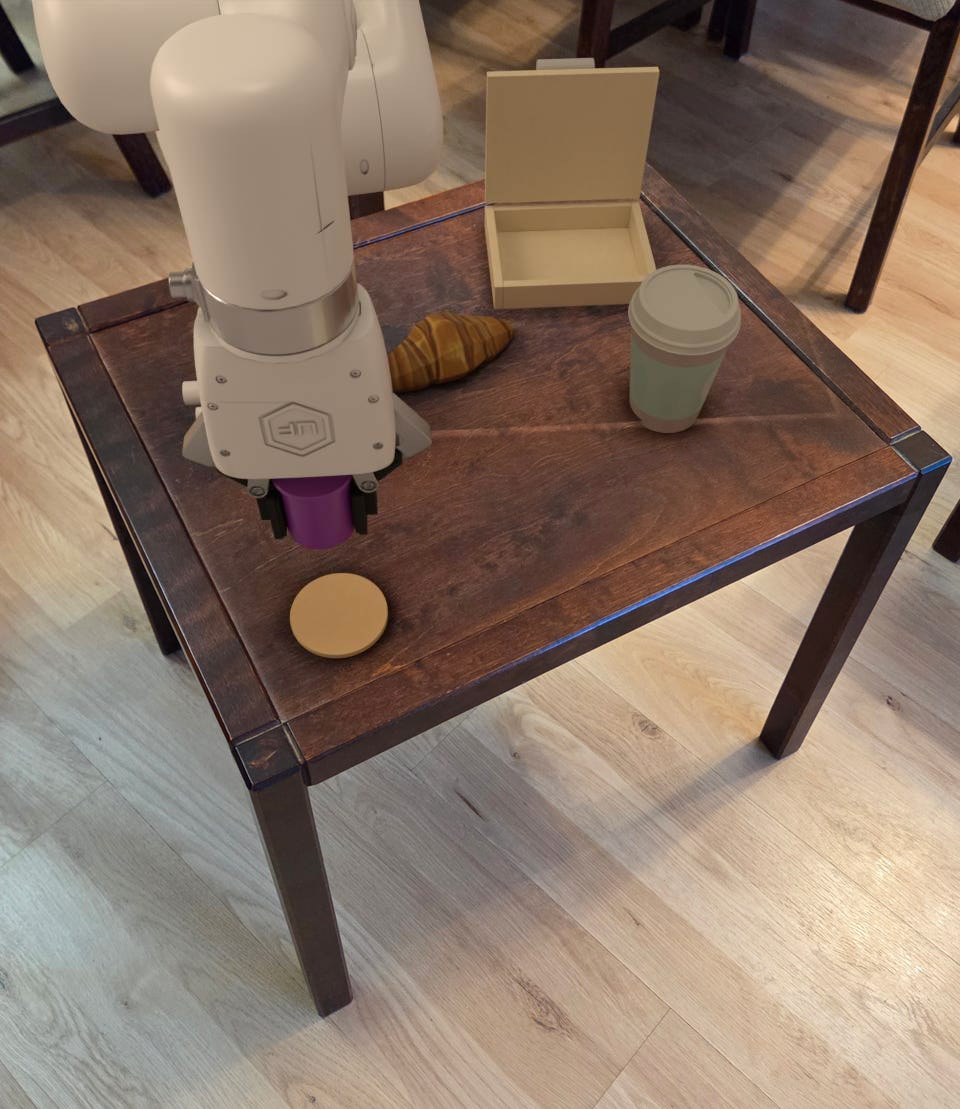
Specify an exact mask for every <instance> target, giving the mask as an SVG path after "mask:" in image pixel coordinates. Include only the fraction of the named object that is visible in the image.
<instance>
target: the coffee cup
mask: <svg viewBox="0 0 960 1109" xmlns="http://www.w3.org/2000/svg"><path fill="white" fill-rule="evenodd" d="M627 316H628V320H629V323H630V326H631V327H630V330H631V331H630V356H629V357H630V360H629V361H630V362H629V365H630V366H629V406H630V408H631V410H632V412H633V413H634V414H635V415H636V417H637V418H638V419H640V420H636V422H637V423H638V424H639V425H641V426H642V427H644V428H645V429H648V430H650V431H653V432H656V433H662V434H673V433H674V434H675V433H679V432H682V431H685V430H687V429H688V428H690V427H692V425H694V424H695V422H696V421H697V418H698V416H699V414H700V413H701V410H702V408H703V406H704V404H705V401H706V399H707V397H708V394H709V392H710V390H711V388H712V386H713V383H714V381H715V378H716V376H717V373H718V371H719V369H720V367H721V364H722V362H723V360H724V358H725V355H726V353H727V350H728V348H729V346H730V344H731V343H732V342H733V341H734V340H735V339H736V338H737V336H738V334H739V332H740V330H741V326H742V325H741V323H742V312H741V307H740V304H739V296H738V293H737V290H736V289H735V287H734V286H733V285H732V284H731V282H729V280H727V278H725V277H724V276H722V275H721V274H720V273H718V272H716V271H714V270H712V269H709V268H707V267H703V266H699V265H693V264H672V265H671V264H670V265H667V266H663V267H659V268H658V269H657V268H656V270H655V271H654V272H652V273H650V274H649V275H648V276H647V277H646V278H645V279H644V280H643V281H642V283H641V285H640V287H639V288H638V289H637V290H636V291H635V293H634V295H633V297H632V300H631V302H630V304H628V309H627Z"/></svg>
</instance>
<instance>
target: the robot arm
mask: <svg viewBox="0 0 960 1109" xmlns="http://www.w3.org/2000/svg"><path fill="white" fill-rule="evenodd" d="M31 5H32V12H33V18H34V25H35V31H36V36H37V40H38V44H39V48H40V52H41V57H42V61H43V64H44V68H45V71H46V73H47V76H48V79H49V81H50V84H51V86H52V89H53V91H54V92H55V93H56V95H57V97H58V99H59V101H60V103H61V104H62V105H63V106H64V108H65V109H66V110H67V112H69V114H70V115H71V116H72V118H74V119H76V120H77V121H78V122H79V123H81V124H82V125H84V126H86V127H88V128H89V129H91V130H94V131H96V132H99V133H102V134H103V133H104V134H108V135H134V134H143V133H144V134H146V133H155V135H156V138H157V143H158V145H159V147H160V151H161V153H162V156H163V158H164V160H165V163H166V166H167V167H168V170H169V172H170V177H171V180H172V184H173V189H174V192H175V195H176V196H175V197H176V199H177V200H176V201H177V203H178V204H177V205H178V207H179V211H180V215H181V220H182V224H183V227H184V231H185V235H186V238H187V243H188V247H189V250H190V254H191V258H192V264H191V267H186V268H184V269H183V270H184V271H183V270H182V271H170V272H169V274H168V289H169V293H170V296H171V299H172V300H187V302H189V303H194V302H195V304H196V305H197V313H196V317H195V320H194V323H193V358H194V367H195V375H196V380H184V381H183V382H182V386H181V391H182V393H181V394H182V400H183V403H184V405H185V406H196V407H195V410H194V411H195V413H194V414H195V420H194V421H193V423H192V425H191V426H190V427H189V429H188V430H187V431H186V433H185V434H184V436H183V441H182V449H181V455H182V457H183V458H185V459H186V460H189V461H191V462H194V463H198V464H200V465H203V466H204V467H208V468H212V467H213V468H216V470H217V472H218V473H219V474H220V475H222V476H224V477H226V478H228V479H230V480H232V481H234V482H236V483H238V484H240V485H241V486H244V487H246V493H247V495H248V496H249V497H251V498H253V499H256V503H257V508H258V511H259V515H260V519H261V521H270V525H271V529H272V533H273V538H274V540H284V539H285V537H287V536H288V528H287V523H286V519H285V514H284V510H283V505H282V501H281V497H280V492H279V490H278V489H277V488H276V487H275V486H274V484H273V482H272V480H271V479H273V478H298V477H318V476H335V475H351V474H352V476H353V478H352V480H351V502H352V509H353V516H354V523H355V534H358V535H359V536H363V535H365V536H366V535H368V529H369V528H368V516H375V515H379V512H378V510H379V509H378V508H379V506H378V491H377V490H378V489H379V484H380V483H379V482H381V480H382V479H384V478H385V477H387V476H388V475H389V474H391V473H392V472H394V471H395V470H396V469H397V468H399V467H400V466H401V465H402V464H403V460H405V459H407V458H408V459H410V458H412V457H414V456H415V455H418V454H419V453H421V452H423V451H425V450H426V449H429V448H430V447H431V446H432V445H433V444H432V443H433V441H432V426H431V424H430V423H429V422H427V421H426V420H425V419H424V418H423V417H422V416H421V415H420V414H419V413H417V412H416V411H415V410H414V409H413V408H411V407H410V406H409V405H408V404H407V403H406V402H405V401H404V400H402V398H400V397H399V396H398V395H397V394H396V393H393V389H392V381H391V375H390V369H389V363H388V353H387V349H386V344H385V339H384V335H383V332H382V328H381V325H380V321H379V318H378V315H377V312H376V309H375V306H374V304H373V301H372V299H371V296H370V294H369V293H368V291H367V290H366V288H365V287H364V286H363V285H362V284H361V283H358V279H357V278H358V277H357V269H356V258H355V251H354V243H353V233H352V224H351V216H350V215H351V213H350V204H349V196H358V195H365V194H374V193H379V192H380V193H381V192H388V191H389V192H390V191H394V190H400V189H405V188H410V187H412V186H416V185H419V184H420V183H423V182H424V181H425V180H427V179H428V178H429V177H430V176H432V175H433V174H434V172H435V171H436V170H437V168H438V166H439V163H440V162H441V161H440V160H441V158H442V154H443V151H444V150H443V149H444V117H443V110H442V104H441V98H440V92H439V87H438V82H437V77H436V72H435V67H434V62H433V59H432V54H431V49H430V45H429V41H428V36H427V32H426V28H425V22H424V18H423V13H422V8H421V4H420V0H31ZM197 405H199V406H197Z"/></svg>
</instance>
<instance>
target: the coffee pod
mask: <svg viewBox="0 0 960 1109" xmlns="http://www.w3.org/2000/svg"><path fill="white" fill-rule="evenodd" d="M352 478H353V476H352V474H351V475H335V476H318V477H298V478H273V479H271V480H272V482H273V484H274V486H275V487H276V488H277V489H278V490H279V492H280V497H281V501H282V505H283V510H284V514H285V519H286V523H287V532H288V534H289V535H290V537H291V539H292V540H293V541H294V542H295V543H296V544H298V545H300V546H301V547H304V548H306V549H310V550H319V551H320V550H321V551H323V550H329V549H332V548H336V547H338V546H341V545H342V544H344V543H345V542H346V541H348V540H349V539H350V538H351V536H352V535H353V534H354V532H356V530H355V523H354V516H353V509H352V502H351V480H352Z"/></svg>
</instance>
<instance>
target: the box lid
mask: <svg viewBox="0 0 960 1109" xmlns="http://www.w3.org/2000/svg"><path fill="white" fill-rule="evenodd" d="M535 63H536V64H535V69H531V70H530V69H527V70H496V71H494V70H493V71H492V70H491V71H486V95H485V96H486V97H485V99H486V100H485V102H486V103H485V104H486V105H485V149H484V150H485V152H484V153H485V158H484V159H485V160H484V203H485V204H486V205H487V204H510V203H511V204H513V203H515V204H517V203H541V202H542V203H544V202H546V203H547V202H572V201H573V202H574V201H575V202H576V201H599V200H600V201H602V200H603V201H604V200H631V199H632V200H633V199H640V198H641V192H642V187H643V186H642V185H643V181H644V173H645V166H646V160H647V156H648V155H647V154H648V148H649V142H650V135H651V130H652V129H651V128H652V122H653V116H654V115H653V114H654V110H655V103H656V98H657V92H658V91H657V90H658V85H659V79H660V69H659V66H639V67H637V66H633V67H601V68H600V67H599V68H596V63H595V58H594V57H575V58H574V57H573V58H545V59H544V58H543V59H542V58H541V59H540V58H539V59H536V62H535Z"/></svg>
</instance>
